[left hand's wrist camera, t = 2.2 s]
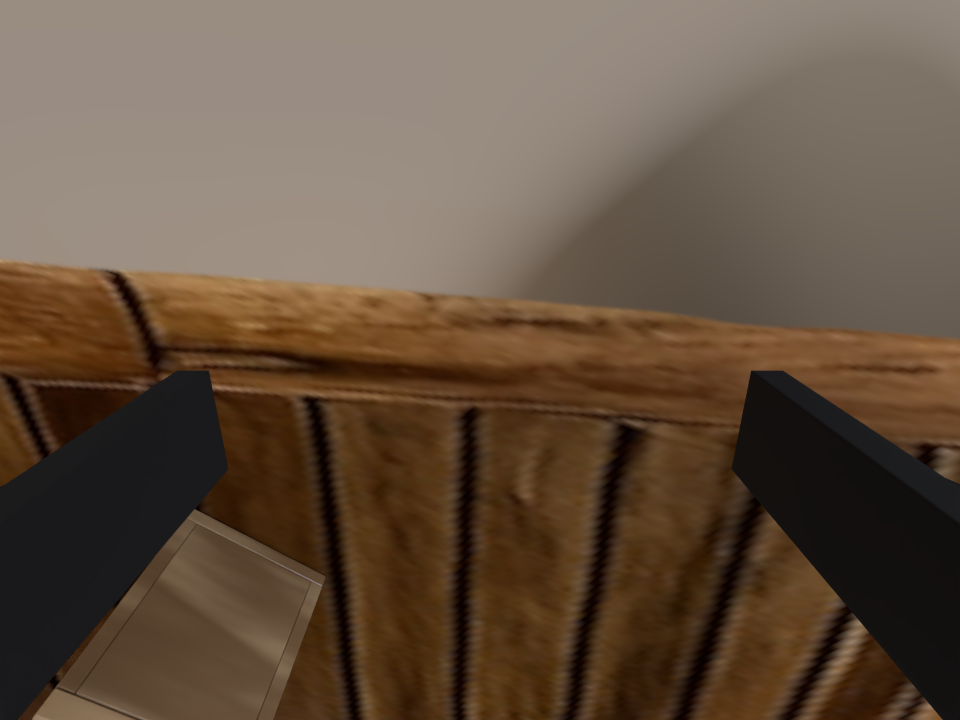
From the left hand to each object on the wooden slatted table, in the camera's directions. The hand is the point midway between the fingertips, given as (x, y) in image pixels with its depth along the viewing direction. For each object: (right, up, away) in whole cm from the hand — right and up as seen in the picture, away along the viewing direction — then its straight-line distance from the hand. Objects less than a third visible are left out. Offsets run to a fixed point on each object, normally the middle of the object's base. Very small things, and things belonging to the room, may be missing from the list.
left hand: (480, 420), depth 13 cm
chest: (-18, -15, +23) cm, 33 cm away
